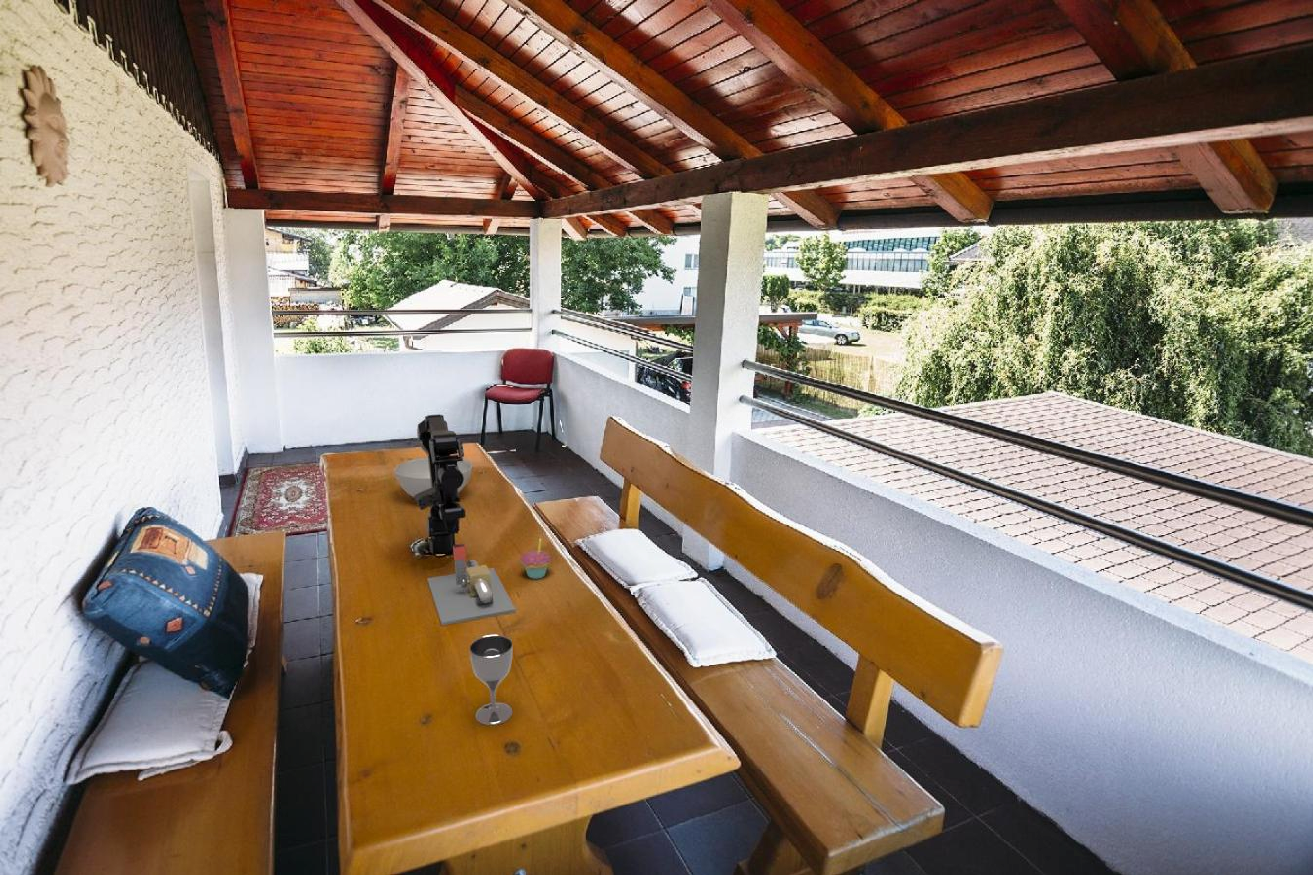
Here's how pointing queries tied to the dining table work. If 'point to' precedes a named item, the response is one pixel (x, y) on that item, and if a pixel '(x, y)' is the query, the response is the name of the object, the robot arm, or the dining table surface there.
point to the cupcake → (535, 562)
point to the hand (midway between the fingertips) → (449, 532)
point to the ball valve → (479, 582)
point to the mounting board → (466, 600)
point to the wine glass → (492, 674)
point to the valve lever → (460, 564)
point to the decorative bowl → (424, 475)
